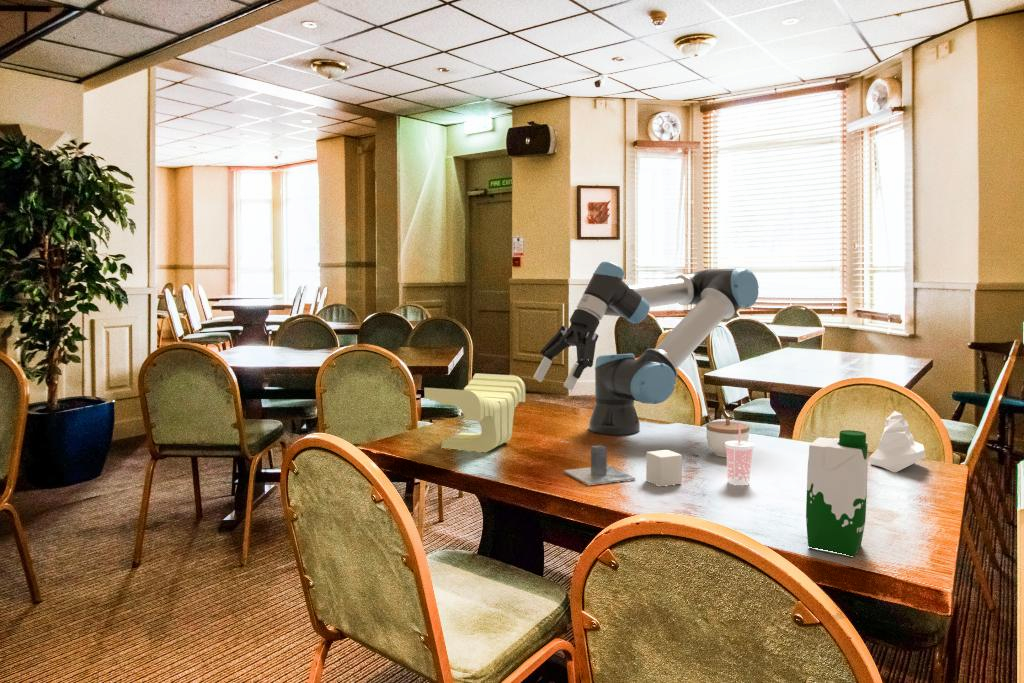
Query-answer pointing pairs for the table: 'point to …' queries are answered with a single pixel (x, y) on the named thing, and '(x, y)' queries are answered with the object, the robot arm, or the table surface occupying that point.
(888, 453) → the soft serve ice cream
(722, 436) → the lidded jar
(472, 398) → the slatted curved stool
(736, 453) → the beverage cup
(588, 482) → the square grey base plate
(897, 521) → the table surface
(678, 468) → the cream cube
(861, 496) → the milk carton
